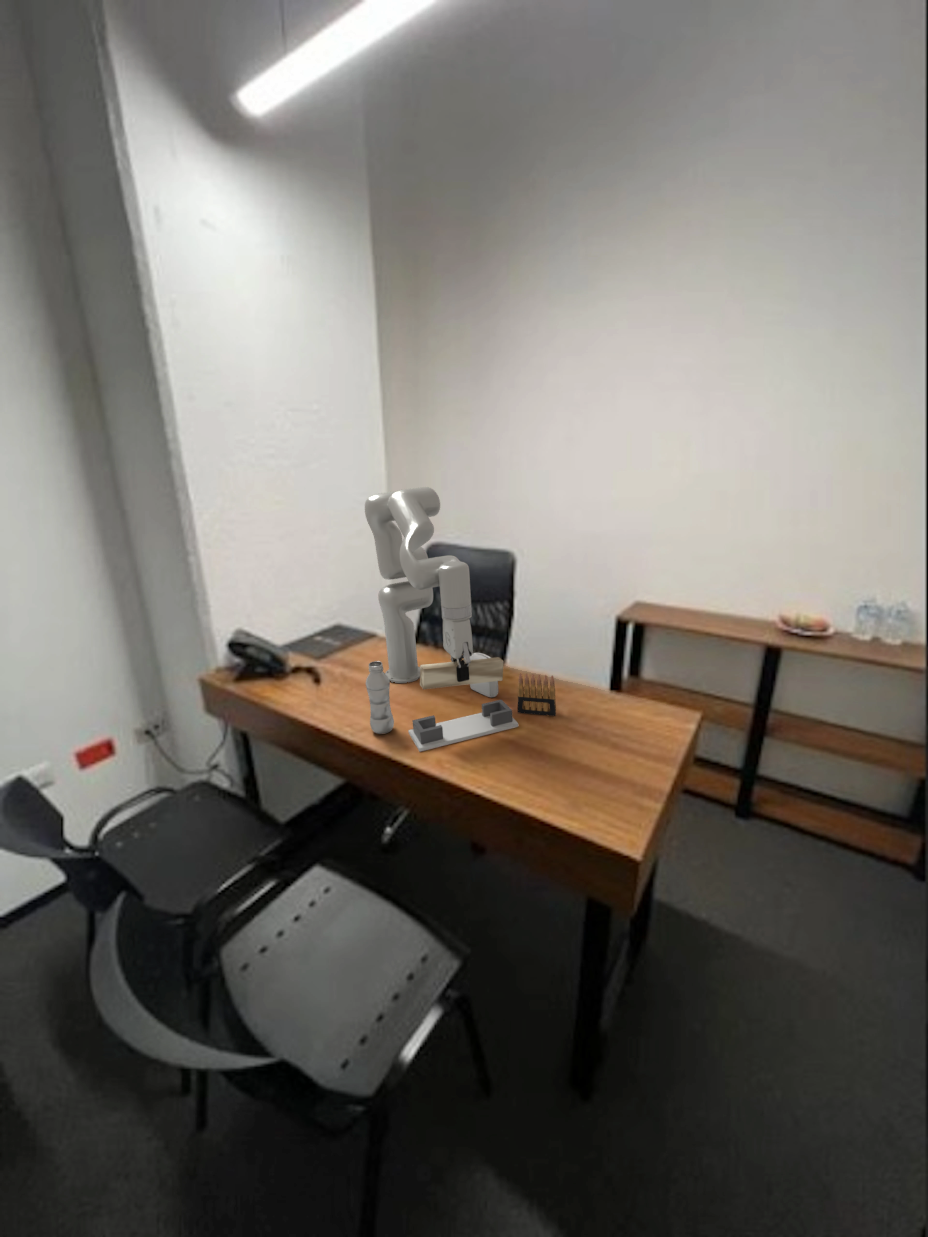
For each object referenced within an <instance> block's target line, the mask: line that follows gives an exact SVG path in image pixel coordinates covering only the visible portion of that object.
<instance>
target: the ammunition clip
mask: <svg viewBox="0 0 928 1237" xmlns="http://www.w3.org/2000/svg"><path fill="white" fill-rule="evenodd" d="M535 678H536V677H535V674H532V675H531V677H530V680H529V675H528V673H526V674H525V676H524V679H523V675H522V673H520V672H519V675H518V682H517V713H518V714H528V715H537V716H547V715H549V717H556V714H557V708H556V706H557V705H556V688H555V678H554V675H551V677H550V679H549V680H548V676H547V675H546V674H545V675H544V677H543V684H542V678H541V675H540V674H538V675H537V681H536V679H535ZM523 681H524V682H523Z"/></svg>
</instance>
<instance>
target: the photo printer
mask: <svg viewBox="0 0 928 1237" xmlns="http://www.w3.org/2000/svg"><path fill="white" fill-rule="evenodd" d="M486 658H492V657H491V656H489V655H487V654H485V653H482V652H473V654H472V656H470V660H476V659H486ZM469 686H470V689H471V690H473V691H474V692H477V693H479V694H481V695H483V696H485V697H488V698H495V697H497V696H498V694H499V681H493V682H485V683H476V684H469Z"/></svg>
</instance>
